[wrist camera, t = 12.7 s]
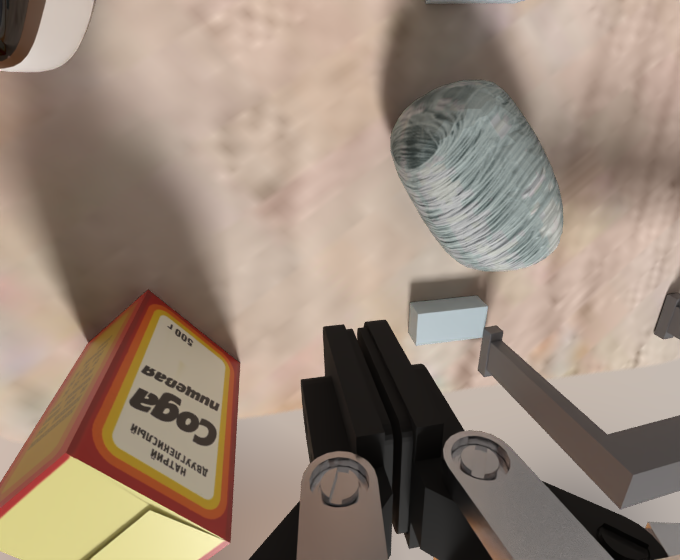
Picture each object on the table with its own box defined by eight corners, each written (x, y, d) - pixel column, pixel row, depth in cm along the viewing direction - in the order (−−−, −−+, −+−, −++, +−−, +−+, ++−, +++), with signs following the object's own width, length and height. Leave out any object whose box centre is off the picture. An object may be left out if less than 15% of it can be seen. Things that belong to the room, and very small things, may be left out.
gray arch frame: (677, 292, 41) (904, 396, 28) (663, 332, 43) (870, 447, 30) (483, 327, 36) (645, 473, 23) (477, 370, 38) (623, 528, 25)
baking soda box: (88, 342, 33) (-39, 545, 19) (148, 289, 32) (61, 459, 18) (184, 408, 37) (140, 616, 23) (240, 363, 36) (230, 550, 22)
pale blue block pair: (428, -56, 26) (441, -65, 24) (520, -54, 27) (539, -63, 25) (408, 332, 38) (416, 345, 36) (473, 325, 39) (483, 337, 37)
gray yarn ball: (338, 141, 27) (481, 153, 20) (425, 51, 30) (578, 32, 22) (412, 279, 36) (529, 320, 29) (473, 200, 38) (594, 220, 31)
